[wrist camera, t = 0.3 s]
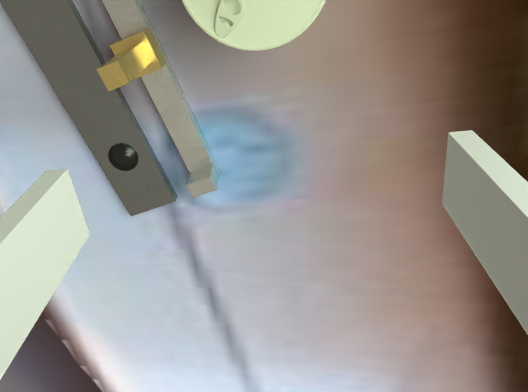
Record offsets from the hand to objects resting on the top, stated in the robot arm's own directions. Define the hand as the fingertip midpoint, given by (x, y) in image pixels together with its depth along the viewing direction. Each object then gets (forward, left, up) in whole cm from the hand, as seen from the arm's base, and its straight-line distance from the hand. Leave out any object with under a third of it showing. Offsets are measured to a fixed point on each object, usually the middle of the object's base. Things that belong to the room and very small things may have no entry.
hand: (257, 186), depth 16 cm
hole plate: (-4, -16, -26) cm, 31 cm away
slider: (-3, -10, -25) cm, 27 cm away
